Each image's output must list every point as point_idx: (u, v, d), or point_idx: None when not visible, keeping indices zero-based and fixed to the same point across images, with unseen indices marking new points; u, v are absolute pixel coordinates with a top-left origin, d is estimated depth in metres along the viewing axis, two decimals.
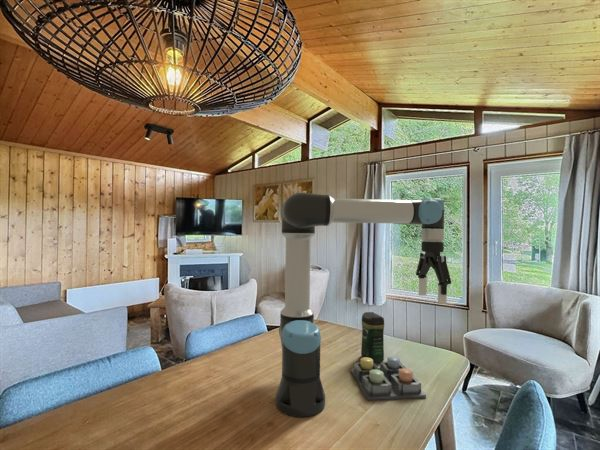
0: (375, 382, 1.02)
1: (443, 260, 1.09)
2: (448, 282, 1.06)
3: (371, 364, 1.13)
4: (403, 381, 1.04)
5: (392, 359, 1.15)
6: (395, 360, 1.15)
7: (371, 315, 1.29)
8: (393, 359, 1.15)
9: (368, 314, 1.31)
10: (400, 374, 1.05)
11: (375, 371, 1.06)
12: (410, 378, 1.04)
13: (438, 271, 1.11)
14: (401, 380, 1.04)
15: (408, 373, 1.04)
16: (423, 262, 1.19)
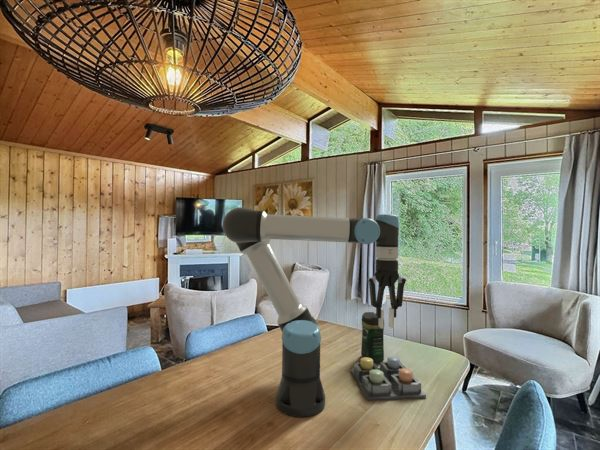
0: (375, 382, 1.02)
1: (370, 283, 1.09)
2: (372, 305, 1.09)
3: (371, 364, 1.13)
4: (403, 381, 1.04)
5: (392, 359, 1.15)
6: (395, 360, 1.15)
7: (371, 315, 1.29)
8: (393, 359, 1.15)
9: (368, 314, 1.31)
10: (400, 374, 1.05)
11: (375, 371, 1.06)
12: (410, 378, 1.04)
13: (378, 293, 1.11)
14: (401, 380, 1.04)
15: (408, 373, 1.04)
16: None
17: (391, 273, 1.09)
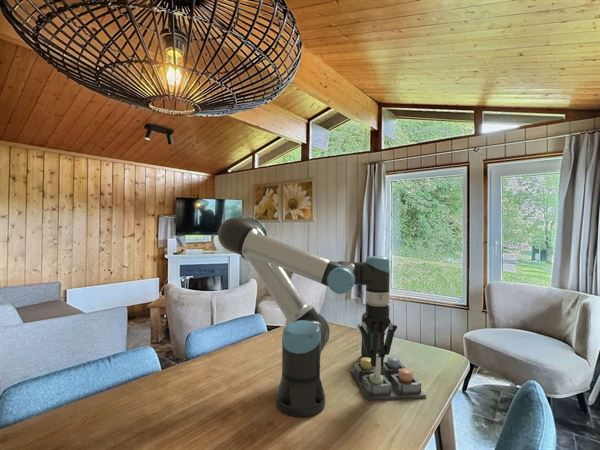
0: None
1: None
2: None
3: None
4: (403, 381, 1.04)
5: (392, 359, 1.15)
6: (395, 360, 1.15)
7: None
8: (393, 359, 1.15)
9: None
10: (400, 374, 1.05)
11: None
12: (410, 378, 1.04)
13: (370, 340, 1.05)
14: (401, 380, 1.04)
15: (408, 373, 1.04)
16: None
17: (382, 318, 1.04)
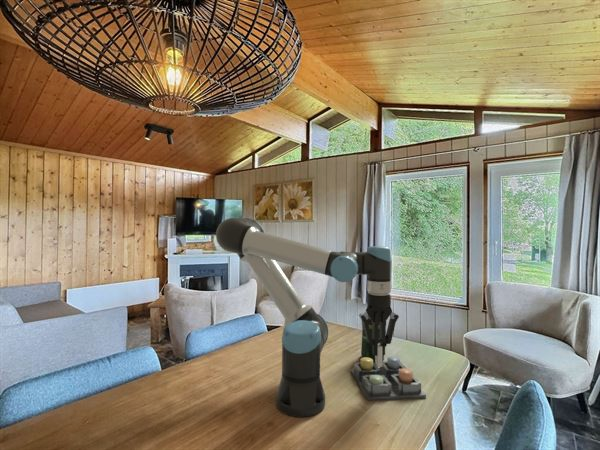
0: None
1: (362, 320, 1.04)
2: (368, 342, 1.04)
3: (371, 364, 1.13)
4: (403, 381, 1.04)
5: (392, 359, 1.15)
6: (395, 360, 1.15)
7: None
8: (393, 359, 1.15)
9: None
10: (400, 374, 1.05)
11: (375, 376, 1.06)
12: (410, 378, 1.04)
13: (372, 329, 1.06)
14: (401, 380, 1.04)
15: (408, 373, 1.04)
16: None
17: (384, 307, 1.04)
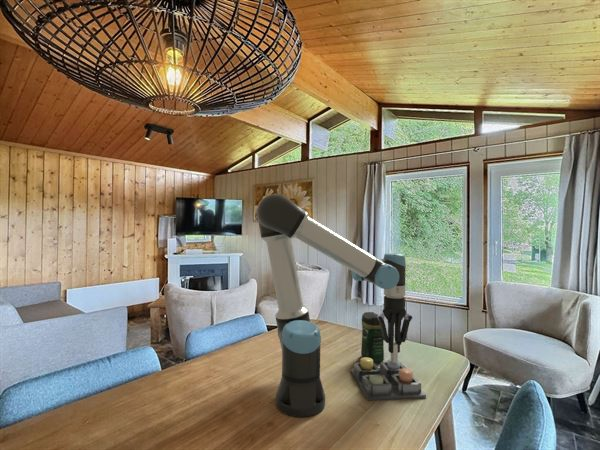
0: None
1: (379, 320, 1.15)
2: (385, 341, 1.15)
3: (371, 364, 1.13)
4: (403, 381, 1.04)
5: (391, 362, 1.15)
6: (395, 363, 1.15)
7: (371, 315, 1.29)
8: None
9: (368, 314, 1.31)
10: (400, 374, 1.05)
11: (375, 376, 1.06)
12: (410, 378, 1.04)
13: (388, 329, 1.16)
14: (401, 380, 1.04)
15: (408, 373, 1.04)
16: None
17: (399, 309, 1.15)
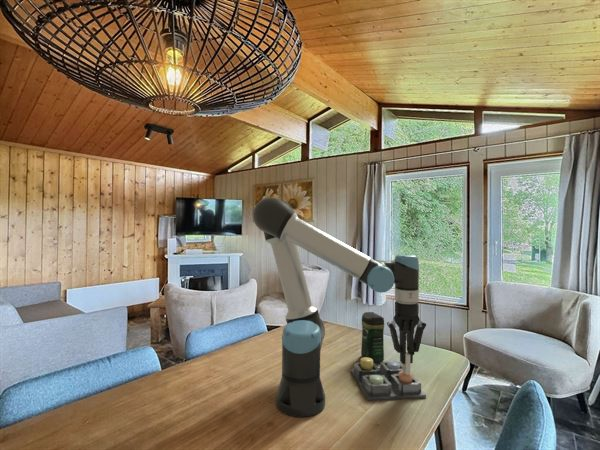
0: None
1: (390, 328, 1.05)
2: (396, 350, 1.05)
3: (371, 364, 1.13)
4: None
5: (391, 364, 1.15)
6: (395, 365, 1.15)
7: (371, 315, 1.29)
8: (393, 364, 1.15)
9: (368, 314, 1.31)
10: (400, 376, 1.05)
11: (375, 376, 1.06)
12: (410, 380, 1.04)
13: (400, 337, 1.06)
14: None
15: (408, 376, 1.04)
16: None
17: (412, 316, 1.05)
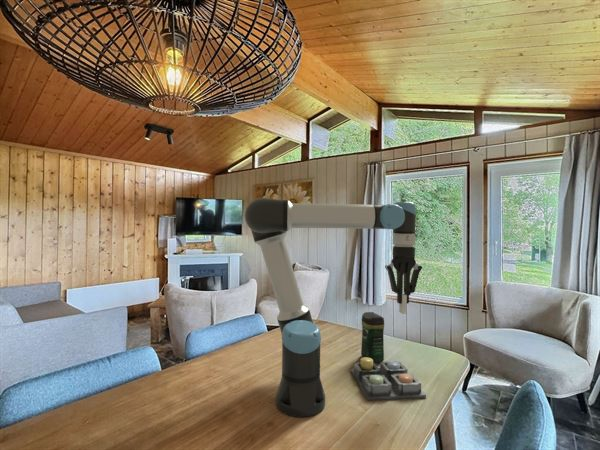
0: None
1: (388, 270, 1.12)
2: (393, 291, 1.12)
3: (371, 364, 1.13)
4: None
5: (391, 364, 1.15)
6: (395, 365, 1.15)
7: (371, 315, 1.29)
8: (393, 364, 1.15)
9: (368, 314, 1.31)
10: (400, 380, 1.05)
11: (375, 376, 1.06)
12: None
13: (397, 280, 1.13)
14: None
15: (408, 379, 1.04)
16: None
17: (408, 259, 1.12)
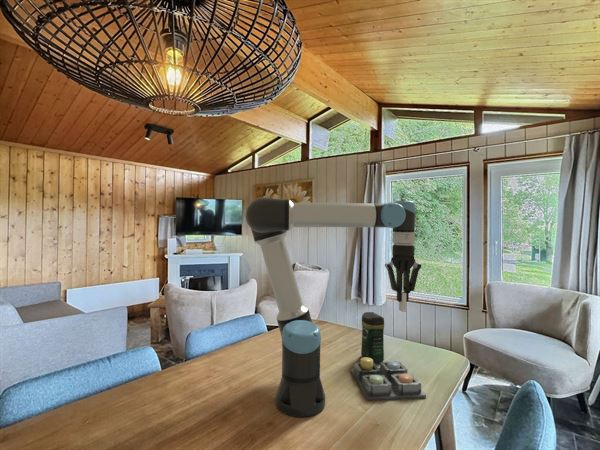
0: None
1: (388, 268, 1.13)
2: (393, 289, 1.13)
3: (371, 364, 1.13)
4: None
5: (391, 364, 1.15)
6: (395, 365, 1.15)
7: (371, 315, 1.29)
8: (393, 364, 1.15)
9: (368, 314, 1.31)
10: (400, 380, 1.05)
11: (375, 376, 1.06)
12: None
13: (397, 278, 1.14)
14: None
15: (408, 379, 1.04)
16: None
17: (408, 257, 1.13)
